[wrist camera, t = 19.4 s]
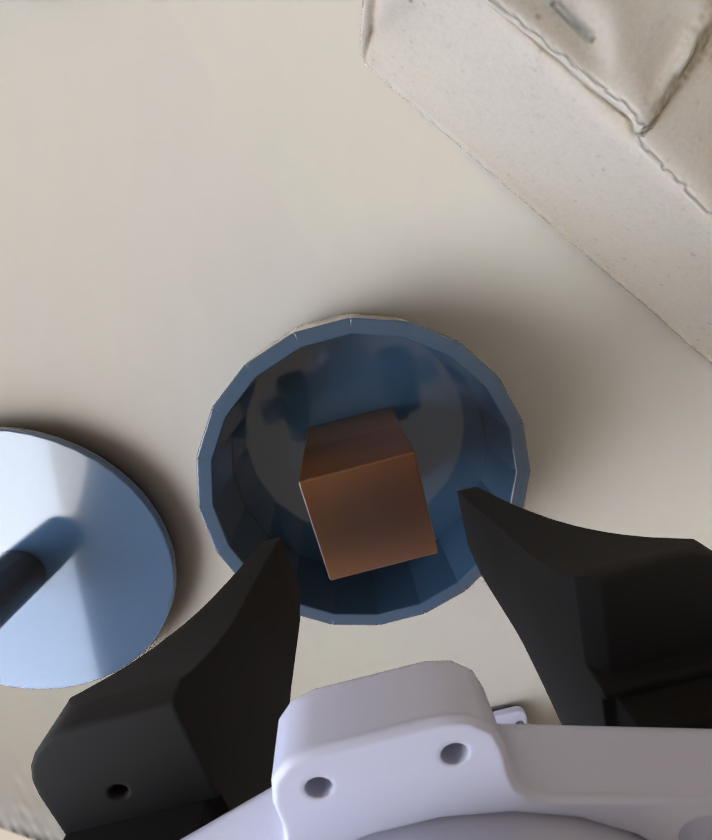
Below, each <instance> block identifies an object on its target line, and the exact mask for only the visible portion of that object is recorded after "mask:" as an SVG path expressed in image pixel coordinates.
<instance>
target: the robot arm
mask: <svg viewBox="0 0 712 840" xmlns="http://www.w3.org/2000/svg"><path fill="white" fill-rule="evenodd" d="M457 495H458V500H459V504H460V509H461V514H462V519H463V524H464V529H465V533H466V538H467V543H468V547H469V549H470V551H471V554H472V556H473V558H474V561H475V563H476V565H477V567H478V569H479V571H480V573H481V575H482V577H483V578H484V580H485V581H486V583H487V585H488V586H489V588H490V590H491V591H492V593H493V594H494V596H495V598H496V599H497V601H498V602H499V604H500V606H501V607H502V609H503V610H504V612H505V614H506V615H507V617H508V618H509V620H510V622H511V623H512V625H513V626H514V628H515V630H516V632H517V633H518V635H519V637H520V639H521V640H522V642H523V644H524V646H525V648H526V650H527V652H528V654H529V656H530V658H531V660H532V662H533V664H534V666H535V668H536V671H537V673H538V675H539V677H540V679H541V681H542V683H543V685H544V687H545V689H546V692H547V694H548V696H549V698H550V700H551V702H552V704H553V706H554V708H555V711H556V713H557V715H558V717H559V719H560V721H561V724H562V725H533V724H528V722H527V716H526V713H525V711H524V709H523V708H522V707H520V706H513V707H509V708H505V709H501V710H497V711H493V712H492V709H491V707H490V704H489V702H488V699H487V696H486V694H485V691H484V689H483V687H482V685H481V684H480V682H479V680H478V679H477V677H476V676H475V674H474V672H473V671H472V670H470V669H468V668H466V667H463V666H461V665H459V664H457V663H455V662H453V661H424V662H420V663H416V664H412V665H408V666H404V667H400V668H396V669H392V670H388V671H384V672H380V673H376V674H372V675H368V676H364V677H360V678H356V679H352V680H349V681H345V682H341V683H337V684H333V685H329V686H325V687H321V688H317V689H314V690H312V691H310V692H308V693H306V694H304V695H302V696H300V697H298V698H296V699H294V700H292V701H291V702H290V694H291V684H292V677H293V669H294V662H295V654H296V647H297V640H298V632H299V623H300V588H299V585H298V582H297V580H296V577H295V574H294V571H293V568H292V565H291V562H290V559H289V557H288V554H287V551H286V548H285V545H284V542H283V539H282V537H278V538H274V539H270V540H266V541H263V542H262V543H261V544H260V545H259V546H258V547H257V548H256V549H255V551H254V552H253V553H252V554H251V555H250V557H249V558H248V559H247V560H246V561H245V562H244V564H243V565H242V566H241V567H240V568H239V569H238V571H237V572H236V573H235V574H234V575H233V576H232V578H231V579H230V580H229V581H228V582H227V583H226V584H225V585H224V586H223V587H222V588H221V589H220V590H219V592H218V593H217V594H216V595H215V596H214V597H213V598H212V599H211V600H210V601H209V602H208V603H207V604H206V605H205V606H204V607H203V608H202V609H201V610H200V611H199V612H197V613H196V614H195V615H194V616H193V617H192V618H191V619H190V620H188V621H187V622H186V623H185V624H184V625H183V626H181V627H180V628H179V629H178V630H176V631H175V632H174V633H172V634H171V635H170V636H168V637H167V638H166V639H165V640H163V641H162V642H161V643H159V644H158V645H157V646H155V647H154V648H153V649H151V650H150V651H148V652H147V653H145V654H144V655H143V656H141V657H140V658H138V659H137V660H135V661H134V662H132V663H130V664H129V665H127V666H126V667H124V668H123V669H121V670H119V671H118V672H116V673H114V674H113V675H111V676H109V677H108V678H106V679H104V680H102V681H100V682H99V683H97V684H95V685H93V686H91V687H90V688H88V689H86V690H84V691H83V692H81V693H79V694H77V695H75V696H73V697H71V698H70V700H69V701H68V703H67V704H66V706H65V707H64V709H63V711H62V712H61V714H60V715H59V717H58V718H57V720H56V721H55V723H54V724H53V726H52V727H51V729H50V731H49V732H48V734H47V735H46V737H45V738H44V740H43V741H42V743H41V744H40V746H39V747H38V749H37V750H36V752H35V755H34V758H33V761H32V764H31V769H32V779H33V782H34V784H35V787H36V789H37V791H38V793H39V795H40V796H41V798H42V799H43V801H44V802H45V804H46V806H47V807H48V809H49V810H50V812H51V813H52V815H53V816H54V818H55V819H56V821H57V822H58V824H59V825H60V827H61V828H62V830H63V831H64V833H65V834H66V836H65V838H64V840H712V551H711V550H710V549H708V548H707V547H705V546H704V545H702V544H701V543H699V542H697V541H696V540H694V539H678V538H651V537H640V536H630V535H621V534H614V533H608V532H602V531H597V530H592V529H586V528H582V527H578V526H573V525H570V524H566V523H563V522H559V521H556V520H552V519H549V518H546V517H543V516H541V515H538V514H535V513H533V512H530V511H528V510H525V509H523V508H520V507H518V506H516V505H514V504H511V503H509V502H507V501H505V500H503V499H501V498H499V497H497V496H495V495H493V494H490V493H488V492H486V491H484V490H482V489H480V488H478V487H476V486H475V487H471V488H468V489H464V490H460V491H457Z"/></svg>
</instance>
